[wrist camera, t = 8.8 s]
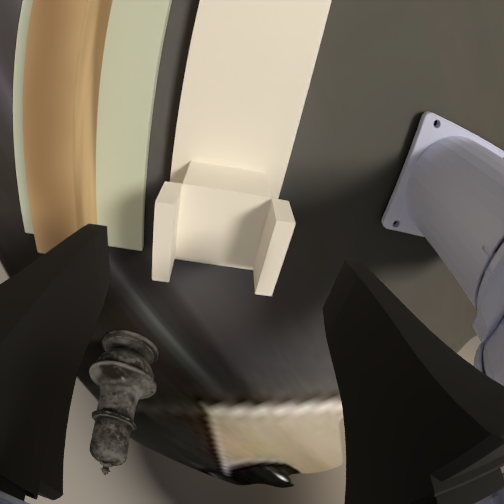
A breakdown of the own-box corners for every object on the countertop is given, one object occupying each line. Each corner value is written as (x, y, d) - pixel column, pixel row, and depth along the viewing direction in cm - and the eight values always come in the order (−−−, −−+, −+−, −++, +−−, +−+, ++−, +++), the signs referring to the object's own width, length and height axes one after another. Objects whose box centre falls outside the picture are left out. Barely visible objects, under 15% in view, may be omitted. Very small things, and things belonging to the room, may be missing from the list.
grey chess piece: (136, 373, 29) (117, 486, 19) (88, 342, 26) (54, 461, 16) (175, 354, 27) (161, 484, 17) (122, 318, 24) (87, 458, 14)
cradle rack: (357, -119, 7) (398, -159, 2) (257, 263, 21) (263, 330, 17) (249, -145, 6) (254, -197, 1) (165, 249, 20) (148, 315, 16)
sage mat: (221, -147, 6) (221, -151, 5) (143, 246, 20) (141, 251, 20) (74, -132, 4) (71, -134, 4) (28, 228, 19) (25, 232, 18)
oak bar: (161, -141, 5) (149, -164, 3) (97, 231, 19) (80, 260, 16) (110, -135, 5) (92, -154, 2) (57, 225, 18) (37, 252, 16)
